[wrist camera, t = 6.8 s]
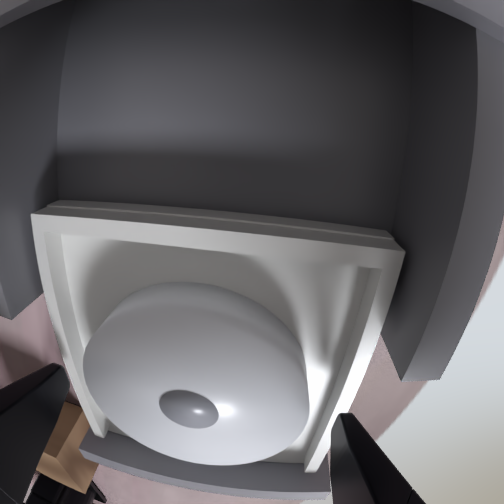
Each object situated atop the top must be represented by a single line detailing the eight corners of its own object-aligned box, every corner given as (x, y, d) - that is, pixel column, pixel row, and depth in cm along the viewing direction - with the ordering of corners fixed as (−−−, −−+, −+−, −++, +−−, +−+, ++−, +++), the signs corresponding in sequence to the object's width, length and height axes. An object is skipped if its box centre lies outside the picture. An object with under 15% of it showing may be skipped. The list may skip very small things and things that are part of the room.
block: (104, 450, 16) (85, 494, 12) (49, 428, 16) (27, 465, 12) (84, 408, 14) (56, 458, 10) (24, 383, 14) (-6, 423, 11)
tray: (318, 455, 13) (321, 502, 10) (107, 422, 14) (87, 462, 11) (401, 226, 9) (447, 266, 6) (55, 194, 9) (-4, 218, 6)
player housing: (394, 301, 10) (447, 395, 6) (55, 260, 11) (-22, 320, 6) (425, -57, 5) (480, -113, 1) (87, -62, 5) (24, -105, 1)
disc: (287, 441, 11) (287, 473, 9) (122, 414, 11) (109, 442, 9) (327, 296, 8) (337, 332, 7) (88, 266, 8) (59, 292, 7)
